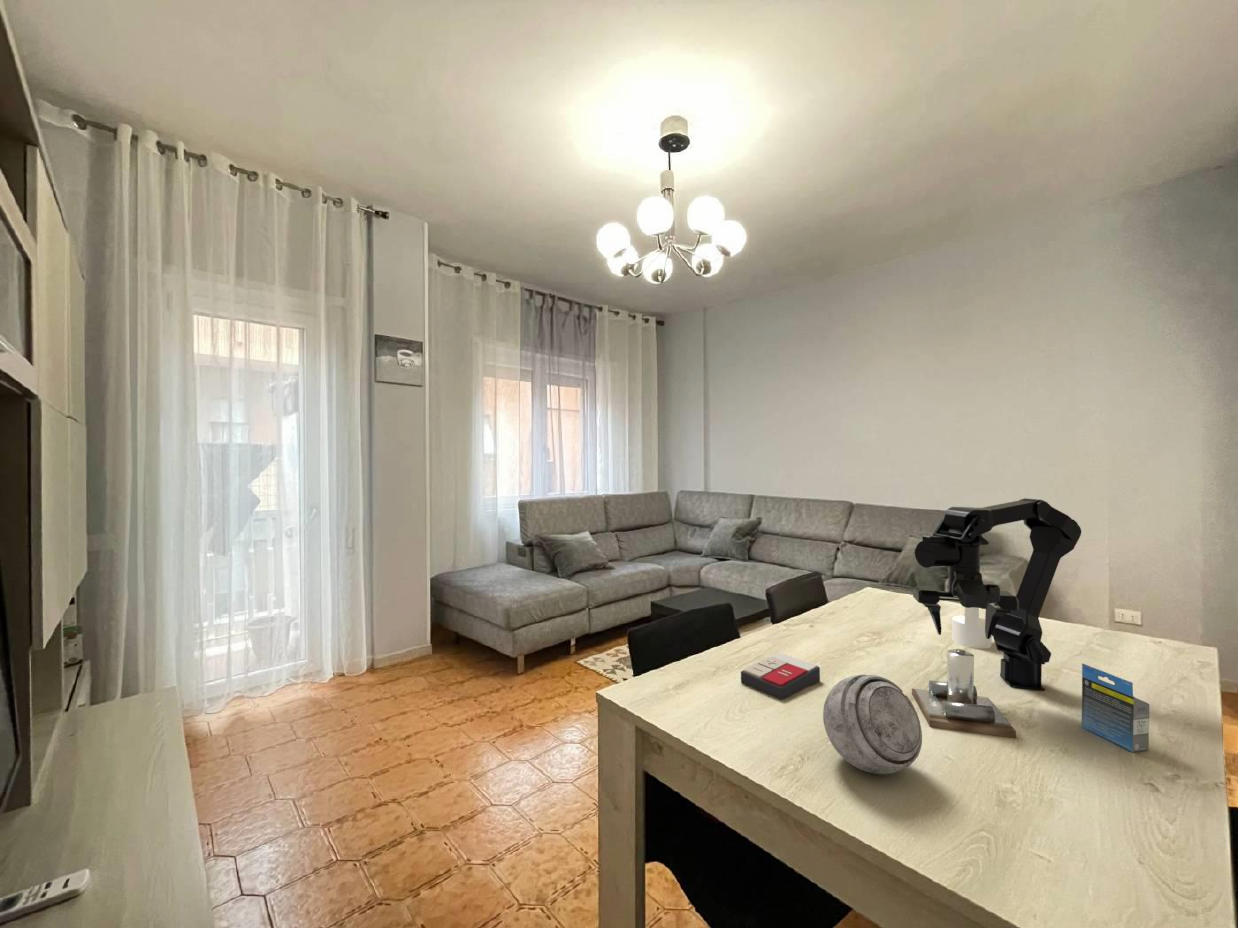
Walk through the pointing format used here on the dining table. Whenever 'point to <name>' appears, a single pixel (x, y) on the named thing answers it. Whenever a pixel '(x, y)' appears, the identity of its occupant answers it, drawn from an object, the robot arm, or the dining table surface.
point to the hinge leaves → (960, 706)
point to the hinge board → (964, 722)
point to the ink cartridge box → (1114, 710)
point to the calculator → (781, 675)
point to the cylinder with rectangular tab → (970, 630)
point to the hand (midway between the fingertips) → (963, 636)
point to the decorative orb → (872, 724)
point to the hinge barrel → (960, 676)
